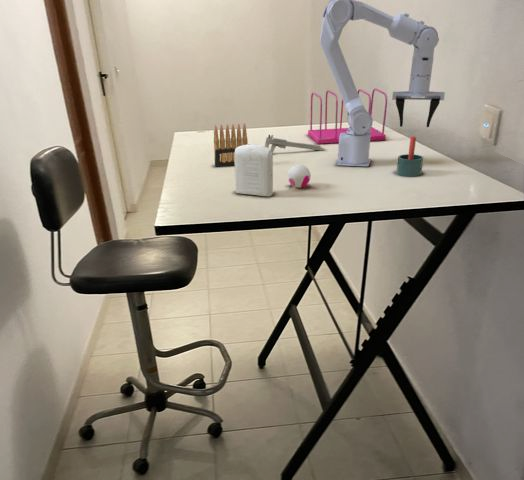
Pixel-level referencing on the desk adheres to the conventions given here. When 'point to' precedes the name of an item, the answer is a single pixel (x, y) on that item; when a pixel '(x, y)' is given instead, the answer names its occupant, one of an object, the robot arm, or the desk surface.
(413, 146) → the red cylinder rod
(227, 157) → the ammunition clip
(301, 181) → the stress ball
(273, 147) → the caliper
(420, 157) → the cup
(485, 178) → the desk surface
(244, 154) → the white tall block
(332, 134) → the file sorter
